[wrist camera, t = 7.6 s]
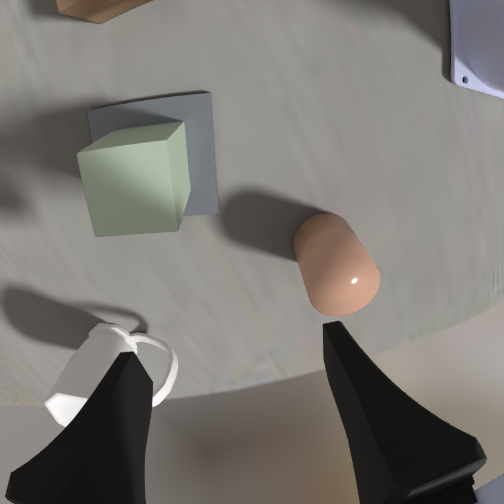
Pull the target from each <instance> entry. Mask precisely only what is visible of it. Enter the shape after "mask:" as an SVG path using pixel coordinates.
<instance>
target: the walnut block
mask: <svg viewBox="0 0 504 504" xmlns="http://www.w3.org/2000/svg"><path fill="white" fill-rule="evenodd" d="M150 1H152V0H56V3H57V6H58V10H59V13H61V14H65V15H69V16H73V17H77V18H81V19H84V20H88V21H92V22H95V23H98V24H102V23H104V22H106V21H108V20H110V19H112V18H114V17H116V16H118V15H121V14H123V13H125V12H127V11H129V10H131V9H134V8H136V7H138V6H140V5H143V4H145V3H148V2H150Z"/></svg>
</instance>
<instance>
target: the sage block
mask: <svg viewBox="0 0 504 504" xmlns="http://www.w3.org/2000/svg"><path fill="white" fill-rule="evenodd" d="M77 159H78V164H79V169H80V174H81V179H82V184H83V189H84V193H85V198H86V202H87V206H88V210H89V215H90V219H91V223H92V226H93V230H94V234H95V237H103V236H116V235H130V234H144V233H158V232H173V231H178V230H179V227H180V223H181V220H182V217H183V214H184V210H185V207H186V204H187V201H188V197H189V194H190V191H191V189H190V179H189V169H188V159H187V148H186V136H185V124H184V122H174V123H165V124H156V125H148V126H141V127H134V128H127V129H120V130H114V131H113V132H111V133H109V134H107V135H106V136H104V137H102V138H101V139H99V140H97V141H95V142H94V143H92V144H91V145H89V146H87V147H86V148H84V149H82V150H81V151H79V152H78V153H77Z"/></svg>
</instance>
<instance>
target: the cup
mask: <svg viewBox="0 0 504 504" xmlns="http://www.w3.org/2000/svg"><path fill="white" fill-rule="evenodd" d="M88 336H89V338H88V339H86V340H85V341H84V342H83V344H82V345H81V346H80V347H79V348H78V350H77V351H76V352H75V353H74V355H73V356H72V357H71V358H70V360H69V362H68V363H67V365H66V367H65V368H64V370H63V372H62V373H61V375H60V377H59V378H58V380H57V382H56V383H55V385H54V386H53V388H52V390H51V391H50V393H49V395H48V397H47V398H46V400H45V402H44V404H45V405H46V407H47V408H48V410H49V411H50V412H51V414H52V415H53V417H54V418H55V420H56V421H57V422H58V423H59V424H61V425H63V426H65V427H66V426H67V425H68V424H69V423H70V422H71V421H72V420H73V418H74V417H75V416H76V415H77V413H78V412H79V411H80V409H81V408H82V407H83V405H84V404H85V403H86V401H87V400H88V399H89V397H90V396H91V395H92V393H93V392H94V390H95V389H96V387H97V386H98V384H99V383H100V381H101V380H102V378H103V377H104V375H105V374H106V372H107V371H108V369H109V368H110V366H111V365H112V363H113V362H114V361H115V359H116V358H117V356H118V355H119V353H120V352H130V351H134V353H135V354H137V351H138V350H137V345H136V342H141V341H142V342H147V343H151V344H153V345H155V346H158V347H160V348H162V349H164V350H166V351H167V352H168V353H169V357H170V361H169V365H168V369H167V372H166V374H165V377H164V379H163V381H162V383H161V384H160V386H159V387H158V388H157V389H156V390H155V391H154V392H153V402H152V407H154V406H156V405H158V404H159V403H160V402H161V401H162V400H163V399H164V398H165V397H166V396H167V395H168V393H169V392H170V390H171V388H172V385H173V383H174V381H175V378H176V374H177V370H178V360H177V356H176V354H175V352H174V351H173V350H172V348H171V347H170V346H169V345H168V344H167V343H166V342H164V341H162V340H160V339H158V338H156V337H154V336H151V335H149V334H144V333H139V332H137V333H132V334H130V333H129V332H128V331H126V330H125V329H123V328H122V327H121V326H119V325H116V324H106V323H98V324H97V325H96V326H95V327H94V328H93V329H92V330H91V331H90V332H89V334H88Z"/></svg>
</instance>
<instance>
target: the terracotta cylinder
mask: <svg viewBox="0 0 504 504" xmlns="http://www.w3.org/2000/svg"><path fill="white" fill-rule="evenodd" d="M293 249H294V252H295V255H296V258H297V261H298V265H299V268H300V271H301V274H302V277H303V280H304V284H305V287H306V290H307V293H308V296H309V300H310V302H311V304H312V306H313V307H314V308H315V309H316V310H317V311H319V312H320V313H323V314H325V315H329V316H343V315H348V314H351V313H354V312H356V311H358V310H359V309H361V308H363V307H364V306H365V305H366V304H368V303H369V302H370V301H371V300H372V298H373V297H374V296H375V294H376V292H377V290H378V287H379V284H380V274H379V270H378V268H377V266H376V265H375V263H374V262H373V260H372V259H371V257H370V256H369V254H368V252H367V251H366V249H365V248H364V246H363V245H362V243H361V242H360V240H359V239H358V237H357V236H356V234H355V233H354V231H353V230H352V229H351V227H350V226H349V224H348V223H347V222H346V220H344V219H343V218H342V217H340V216H338V215H336V214H332V213H321V214H317V215H314V216H312V217H310V218H308V219H306V220H305V221H304V222H303V223H302V224H301V225H300V226H299V227H298V229H297V230H296V232H295V235H294V238H293Z"/></svg>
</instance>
